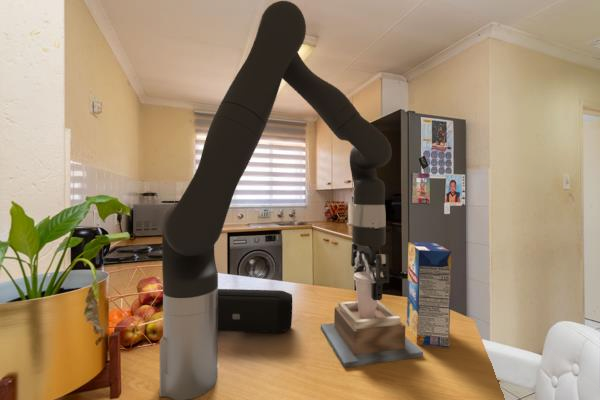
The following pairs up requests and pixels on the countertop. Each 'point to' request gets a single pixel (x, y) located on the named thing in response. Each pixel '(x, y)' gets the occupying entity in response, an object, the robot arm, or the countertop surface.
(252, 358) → the countertop surface
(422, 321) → the beverage box
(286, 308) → the portable speaker
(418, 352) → the pedestal base
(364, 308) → the smoothie
